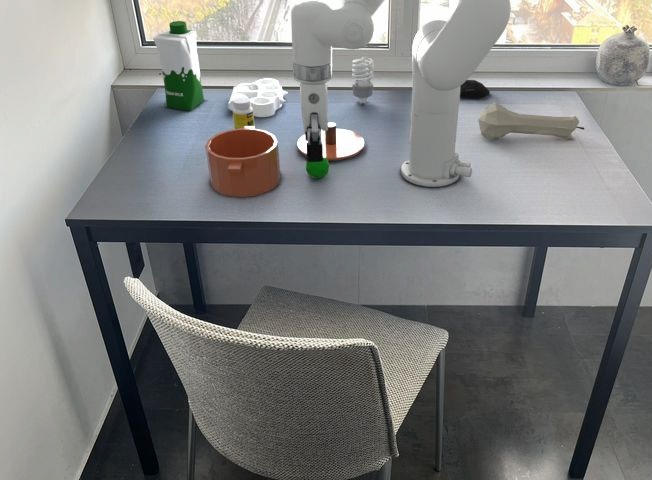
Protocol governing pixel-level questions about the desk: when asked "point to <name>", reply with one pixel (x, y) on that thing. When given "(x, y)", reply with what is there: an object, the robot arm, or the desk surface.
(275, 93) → the white muffin tray
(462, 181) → the desk surface
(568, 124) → the faceted club
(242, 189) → the pot
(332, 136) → the pot lid
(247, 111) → the supplement bottle
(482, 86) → the gaming mouse
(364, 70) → the light bulb
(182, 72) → the milk carton
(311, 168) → the polyhedron
